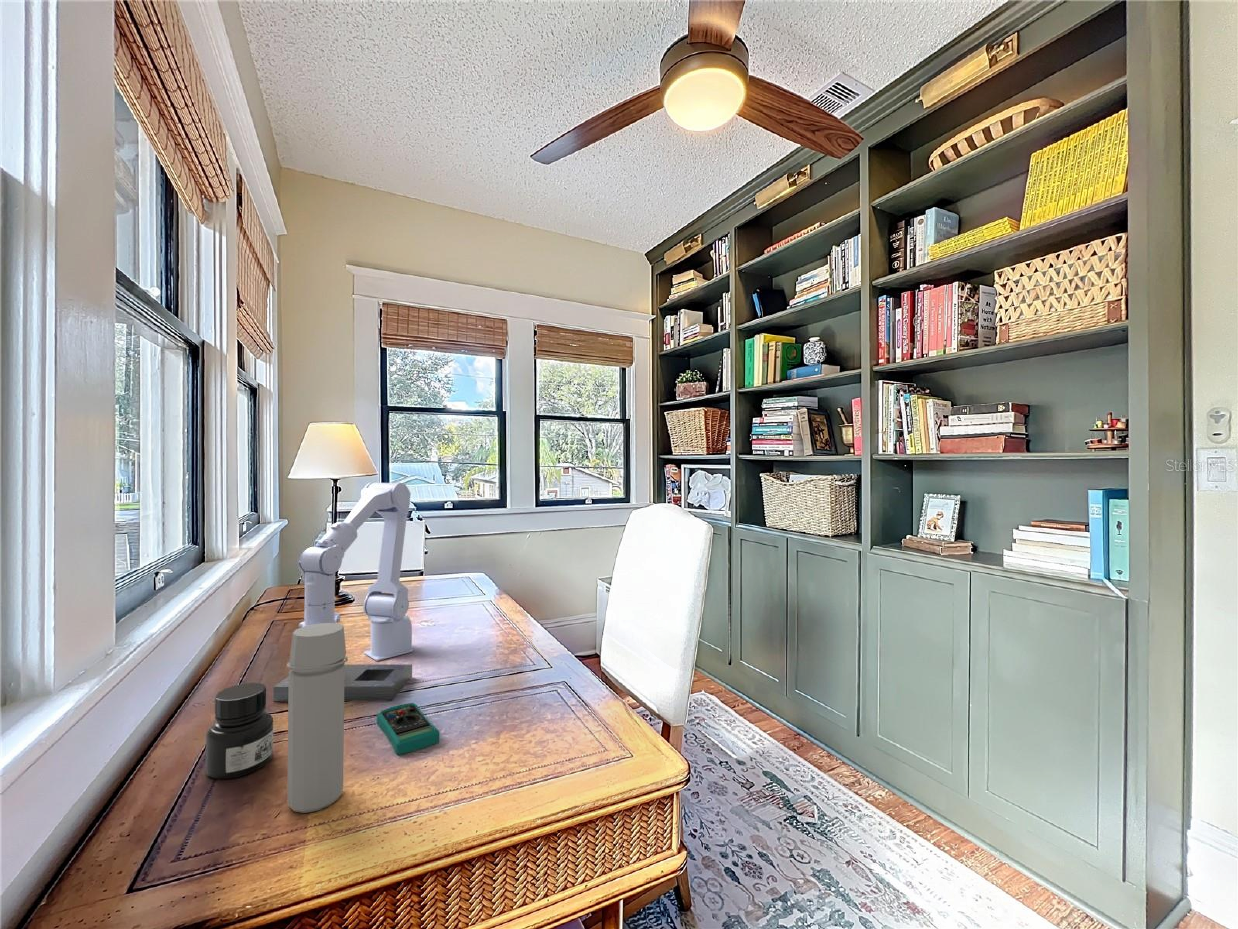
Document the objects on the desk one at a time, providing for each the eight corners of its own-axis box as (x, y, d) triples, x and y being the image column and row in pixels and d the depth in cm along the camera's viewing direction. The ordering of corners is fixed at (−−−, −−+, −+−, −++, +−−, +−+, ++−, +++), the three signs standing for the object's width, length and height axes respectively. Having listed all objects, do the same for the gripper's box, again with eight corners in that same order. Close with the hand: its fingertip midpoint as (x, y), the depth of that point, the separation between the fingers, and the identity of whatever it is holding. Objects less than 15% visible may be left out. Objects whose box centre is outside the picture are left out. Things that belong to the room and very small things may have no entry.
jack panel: (412, 677, 122) (412, 664, 122) (391, 700, 110) (392, 686, 110) (305, 677, 121) (305, 664, 121) (273, 701, 109) (273, 686, 109)
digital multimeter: (414, 713, 106) (414, 699, 106) (440, 745, 94) (440, 728, 94) (375, 724, 101) (375, 709, 101) (397, 759, 90) (397, 742, 90)
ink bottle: (237, 785, 81) (238, 707, 81) (188, 779, 83) (189, 702, 83) (287, 751, 91) (288, 681, 91) (242, 746, 92) (243, 677, 92)
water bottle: (332, 815, 75) (334, 637, 74) (273, 818, 74) (275, 638, 74) (359, 777, 84) (360, 618, 84) (307, 778, 83) (308, 618, 83)
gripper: (318, 594, 123) (318, 652, 123) (281, 611, 108) (280, 678, 108) (349, 594, 123) (349, 652, 123) (316, 611, 108) (315, 678, 108)
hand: (319, 665), depth 116 cm, fingers closed on plug, 4 cm apart
